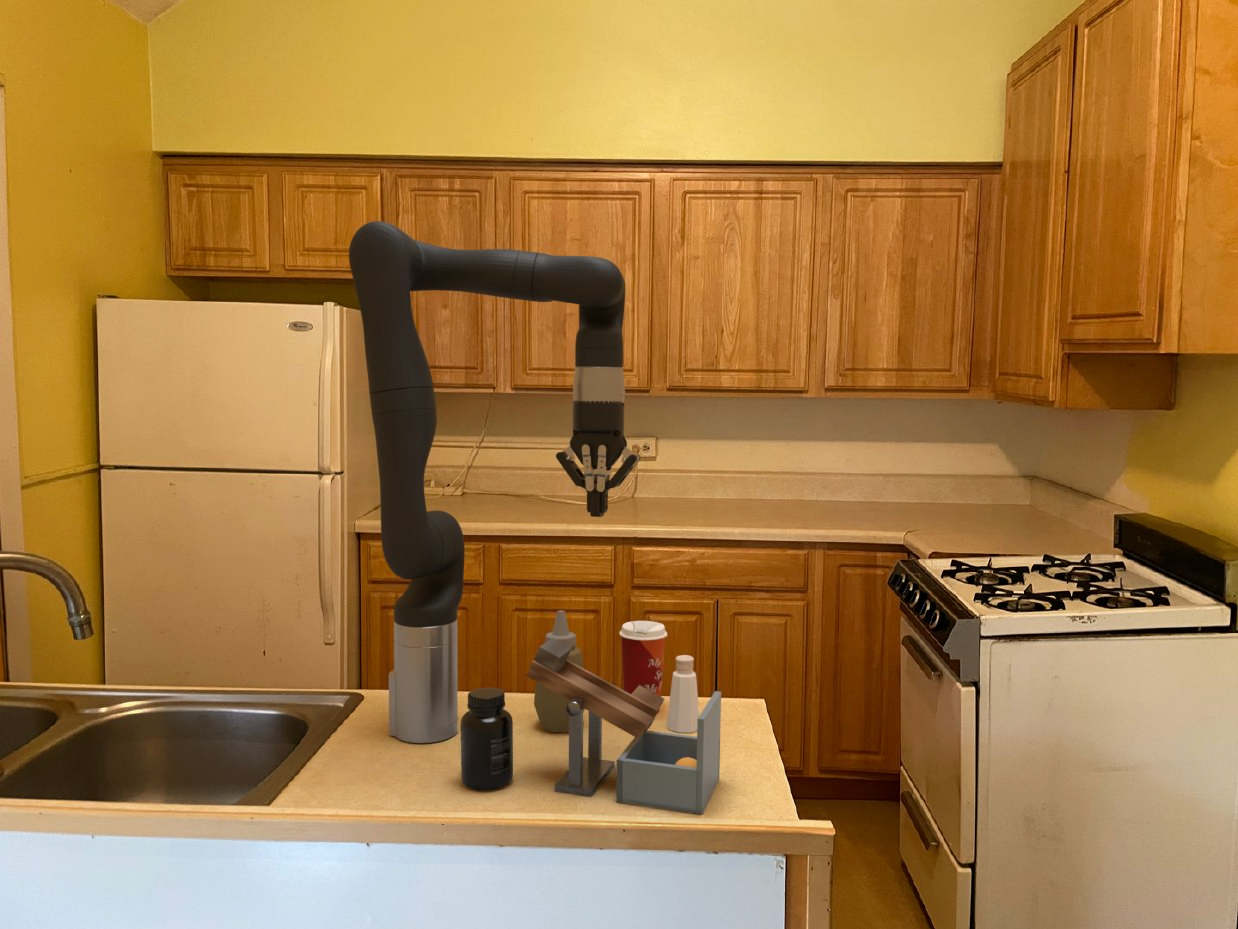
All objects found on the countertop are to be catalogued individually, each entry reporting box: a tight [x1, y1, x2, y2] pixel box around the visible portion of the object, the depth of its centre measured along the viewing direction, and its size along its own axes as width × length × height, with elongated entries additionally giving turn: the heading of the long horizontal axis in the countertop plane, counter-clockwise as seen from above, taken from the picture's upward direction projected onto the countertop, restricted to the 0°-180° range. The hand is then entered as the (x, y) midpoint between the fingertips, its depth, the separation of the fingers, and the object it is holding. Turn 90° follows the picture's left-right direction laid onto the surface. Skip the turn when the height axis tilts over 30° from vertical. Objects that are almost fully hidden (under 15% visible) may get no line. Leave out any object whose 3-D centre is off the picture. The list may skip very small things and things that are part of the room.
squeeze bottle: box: [533, 609, 586, 733], centre depth 144 cm, size 8×8×18 cm
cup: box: [615, 690, 722, 816], centre depth 122 cm, size 11×11×12 cm
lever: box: [525, 638, 665, 740], centre depth 128 cm, size 17×13×4 cm
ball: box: [675, 757, 697, 768], centre depth 122 cm, size 4×4×4 cm
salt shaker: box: [666, 654, 700, 734], centre depth 145 cm, size 5×5×11 cm
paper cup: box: [619, 620, 668, 715], centre depth 152 cm, size 8×8×14 cm
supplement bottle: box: [459, 687, 514, 792], centre depth 124 cm, size 7×7×12 cm
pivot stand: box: [553, 698, 615, 798], centre depth 125 cm, size 5×10×12 cm, turn 163°
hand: (597, 516), depth 139 cm, fingers closed
